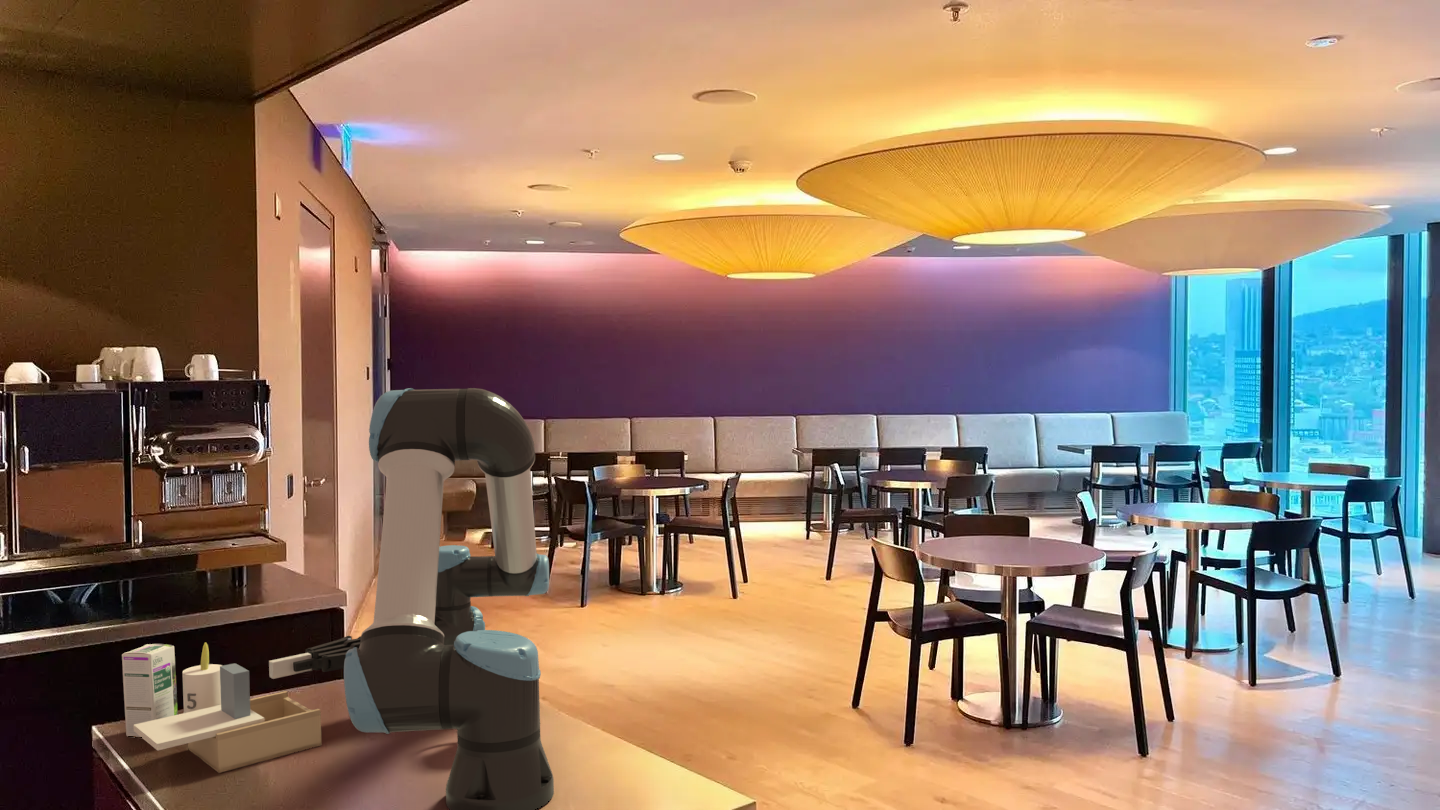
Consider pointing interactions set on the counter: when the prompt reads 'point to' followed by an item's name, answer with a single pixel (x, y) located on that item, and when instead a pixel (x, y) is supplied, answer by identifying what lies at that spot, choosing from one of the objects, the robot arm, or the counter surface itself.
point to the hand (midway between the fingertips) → (271, 669)
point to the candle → (201, 684)
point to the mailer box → (263, 735)
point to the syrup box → (149, 684)
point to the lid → (206, 715)
